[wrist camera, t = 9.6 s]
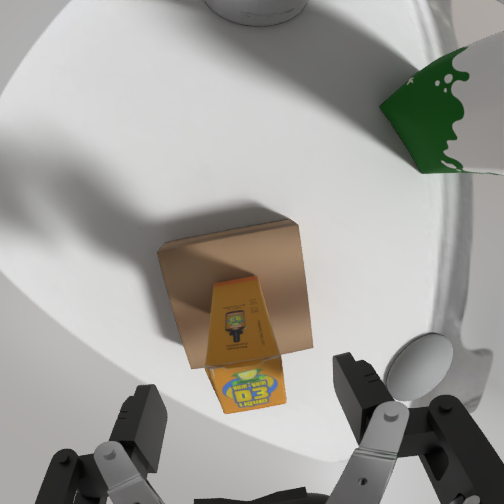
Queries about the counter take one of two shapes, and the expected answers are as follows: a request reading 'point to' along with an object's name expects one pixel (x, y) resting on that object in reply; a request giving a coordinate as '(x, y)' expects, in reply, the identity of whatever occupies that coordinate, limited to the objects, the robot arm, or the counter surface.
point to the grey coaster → (419, 367)
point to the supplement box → (243, 348)
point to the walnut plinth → (235, 267)
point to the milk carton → (454, 111)
